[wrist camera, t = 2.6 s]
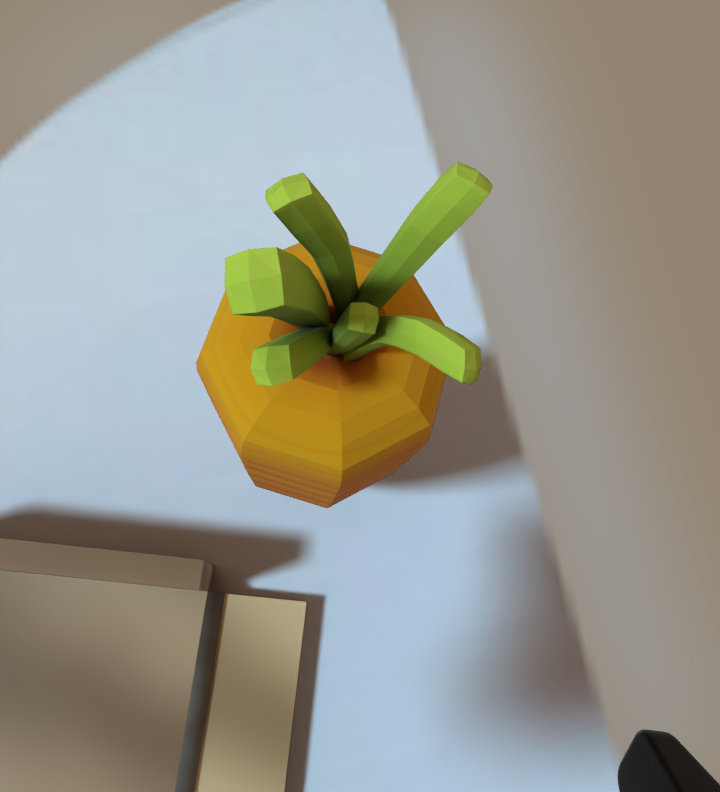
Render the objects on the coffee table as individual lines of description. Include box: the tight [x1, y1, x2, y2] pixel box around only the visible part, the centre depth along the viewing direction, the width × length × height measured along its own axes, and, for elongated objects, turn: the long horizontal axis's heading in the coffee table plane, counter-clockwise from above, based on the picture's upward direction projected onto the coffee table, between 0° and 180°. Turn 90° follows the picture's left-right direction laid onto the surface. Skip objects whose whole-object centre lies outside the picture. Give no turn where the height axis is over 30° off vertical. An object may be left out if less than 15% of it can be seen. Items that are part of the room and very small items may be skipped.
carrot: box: [196, 162, 492, 508], centre depth 15 cm, size 5×5×15 cm
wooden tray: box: [0, 538, 307, 792], centre depth 18 cm, size 9×12×3 cm
